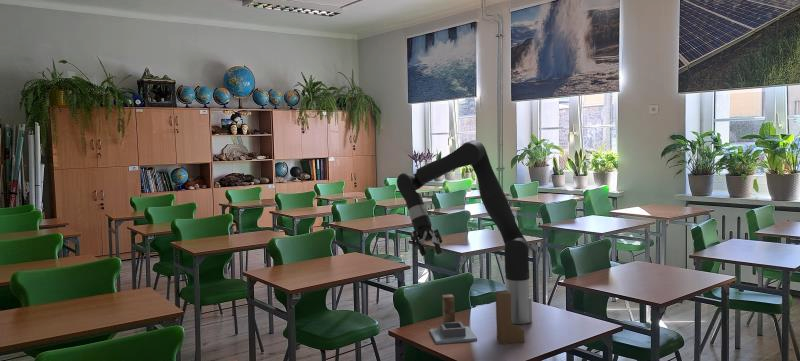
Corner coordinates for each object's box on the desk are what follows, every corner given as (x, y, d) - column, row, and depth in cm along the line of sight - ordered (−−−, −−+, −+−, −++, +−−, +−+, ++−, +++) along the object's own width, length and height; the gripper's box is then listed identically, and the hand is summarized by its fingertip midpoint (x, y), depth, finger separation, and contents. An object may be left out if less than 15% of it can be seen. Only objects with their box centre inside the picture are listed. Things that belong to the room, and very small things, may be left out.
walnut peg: (453, 324, 234) (452, 294, 233) (455, 327, 230) (454, 296, 229) (443, 324, 233) (442, 294, 233) (445, 328, 229) (444, 297, 229)
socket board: (468, 328, 227) (468, 318, 227) (477, 340, 214) (476, 330, 213) (429, 331, 226) (429, 321, 225) (436, 344, 212) (435, 333, 212)
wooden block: (520, 338, 215) (519, 289, 213) (524, 342, 210) (523, 292, 209) (496, 340, 214) (495, 291, 212) (500, 344, 209) (498, 294, 208)
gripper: (412, 214, 236) (424, 252, 231) (437, 213, 246) (450, 250, 240) (401, 222, 241) (413, 259, 236) (426, 221, 251) (438, 256, 245)
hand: (431, 254), depth 238 cm, fingers open, 8 cm apart
